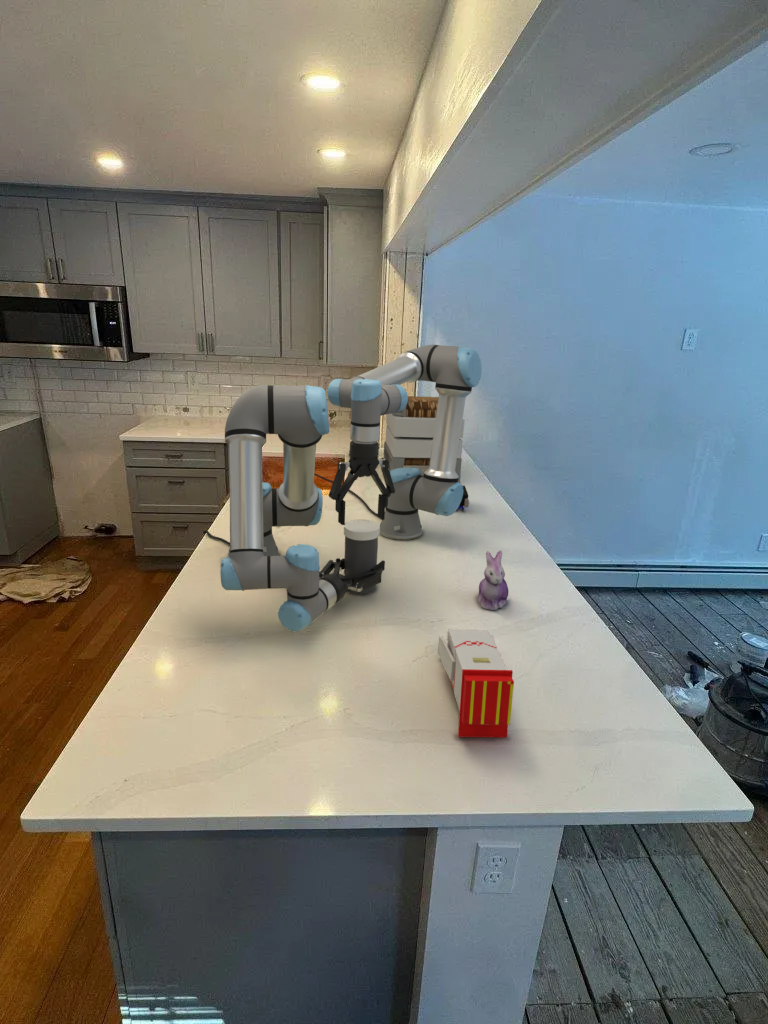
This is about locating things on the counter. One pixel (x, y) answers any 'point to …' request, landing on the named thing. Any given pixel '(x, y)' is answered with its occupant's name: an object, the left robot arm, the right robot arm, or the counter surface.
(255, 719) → the counter surface
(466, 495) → the figurine character
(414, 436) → the grey and brown box
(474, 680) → the toy
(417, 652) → the counter surface
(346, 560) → the jar
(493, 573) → the figurine
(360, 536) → the lid
